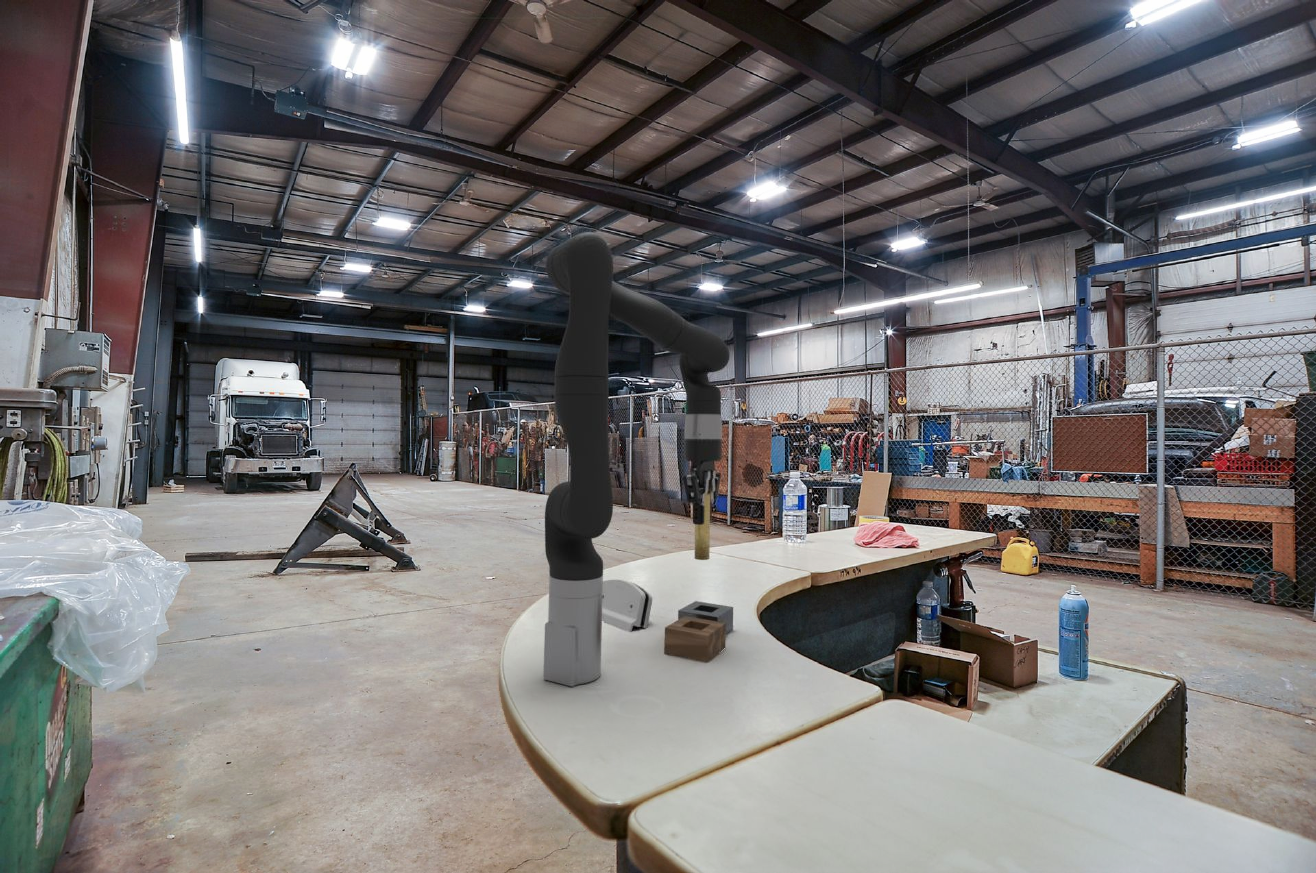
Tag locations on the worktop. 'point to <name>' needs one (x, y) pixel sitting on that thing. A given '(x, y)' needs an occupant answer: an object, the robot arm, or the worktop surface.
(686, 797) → the worktop surface
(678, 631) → the mount
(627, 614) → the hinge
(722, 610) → the socket block
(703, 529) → the pin
